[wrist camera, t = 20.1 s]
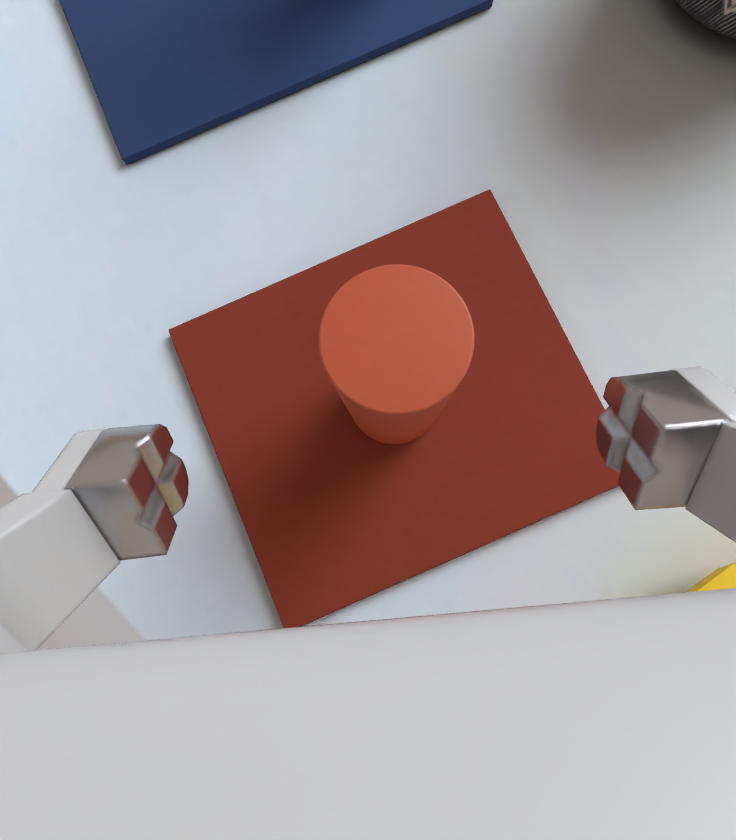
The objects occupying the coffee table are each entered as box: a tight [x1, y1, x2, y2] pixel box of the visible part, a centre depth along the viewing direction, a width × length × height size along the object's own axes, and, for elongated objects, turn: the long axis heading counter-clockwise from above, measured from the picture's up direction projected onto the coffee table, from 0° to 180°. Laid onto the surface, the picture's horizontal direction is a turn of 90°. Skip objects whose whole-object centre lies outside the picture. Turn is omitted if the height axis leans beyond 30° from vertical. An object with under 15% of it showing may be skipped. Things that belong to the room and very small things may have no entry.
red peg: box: [319, 264, 474, 444], centre depth 18 cm, size 4×4×10 cm
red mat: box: [169, 190, 620, 628], centre depth 24 cm, size 18×16×1 cm
